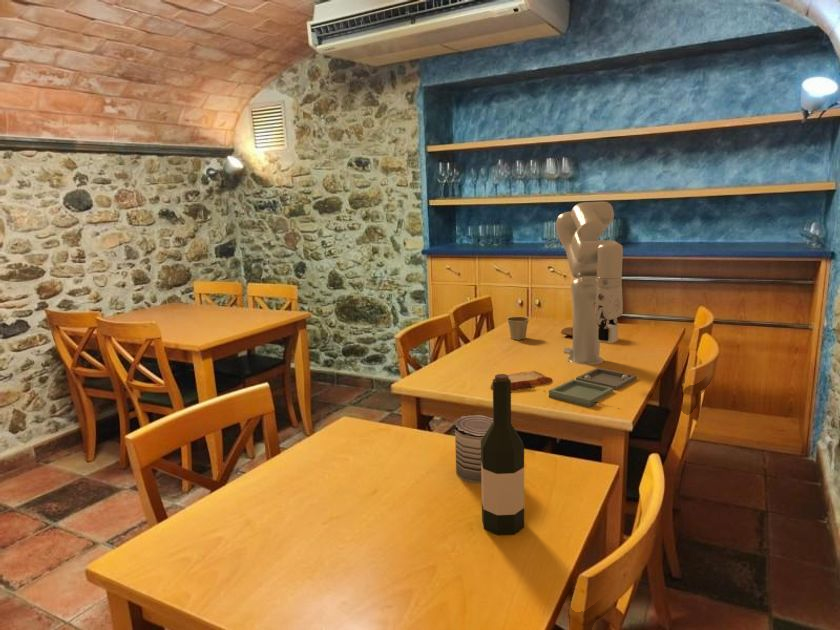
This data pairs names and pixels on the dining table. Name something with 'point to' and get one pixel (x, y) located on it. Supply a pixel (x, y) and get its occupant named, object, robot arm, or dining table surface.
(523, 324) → the flower pot
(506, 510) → the wine bottle
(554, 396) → the bin
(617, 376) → the bin
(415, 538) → the dining table surface
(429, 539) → the dining table surface
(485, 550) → the dining table surface
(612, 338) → the beige block
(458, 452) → the can
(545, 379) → the bread slice
